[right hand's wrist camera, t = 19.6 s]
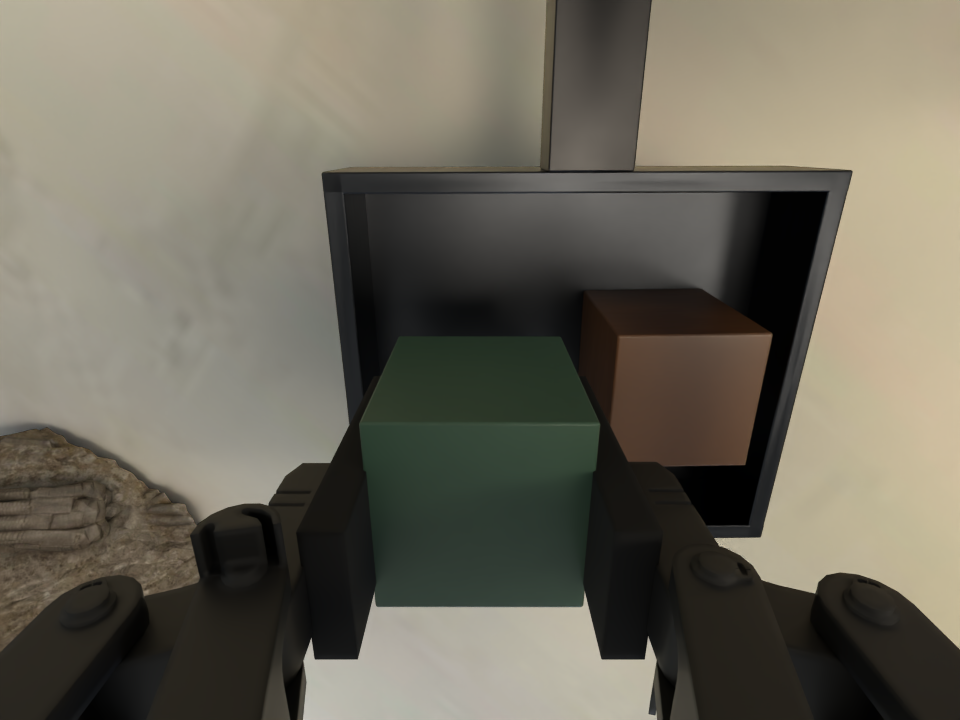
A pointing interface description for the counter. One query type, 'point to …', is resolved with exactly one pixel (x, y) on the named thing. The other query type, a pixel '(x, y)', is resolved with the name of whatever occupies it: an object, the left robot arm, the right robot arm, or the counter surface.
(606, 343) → the walnut block
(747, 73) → the counter surface
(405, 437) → the green block
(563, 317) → the pan
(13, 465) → the fossil
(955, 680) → the right robot arm
